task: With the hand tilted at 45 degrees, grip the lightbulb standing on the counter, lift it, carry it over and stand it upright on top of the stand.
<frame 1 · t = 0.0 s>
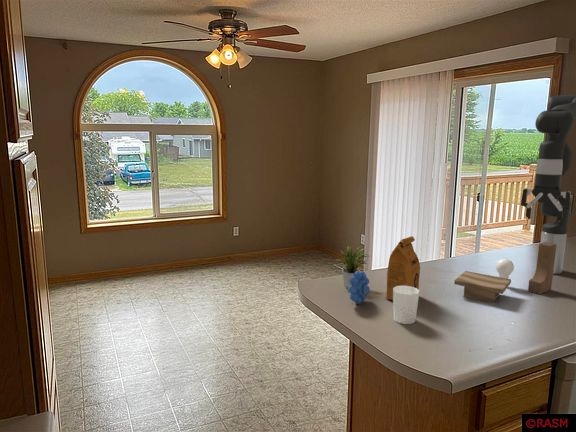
hand: (543, 220, 147), 29 cm above the worktop, tool pointing down, fingers open, 8 cm apart
grapes: (360, 304, 149), on the worktop
stand: (481, 295, 158), on the worktop
coffee package: (402, 298, 155), on the worktop
white cup: (404, 320, 136), on the worktop
lightbulb: (502, 286, 168), on the worktop
wooden block: (539, 291, 163), on the worktop
house plant: (350, 287, 166), on the worktop
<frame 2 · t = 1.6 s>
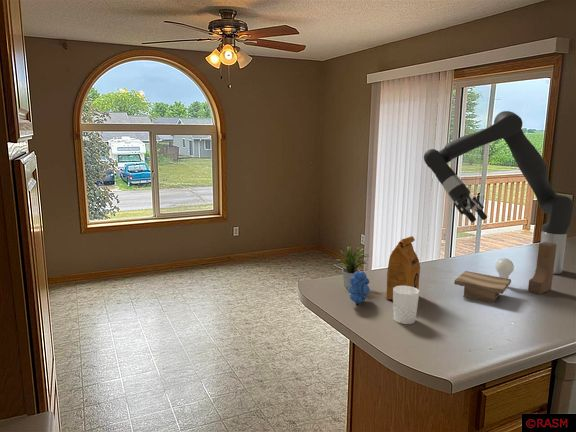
hand: (479, 220, 173), 24 cm above the worktop, tool tilted 45°, fingers open, 8 cm apart
nothing on the worktop moved.
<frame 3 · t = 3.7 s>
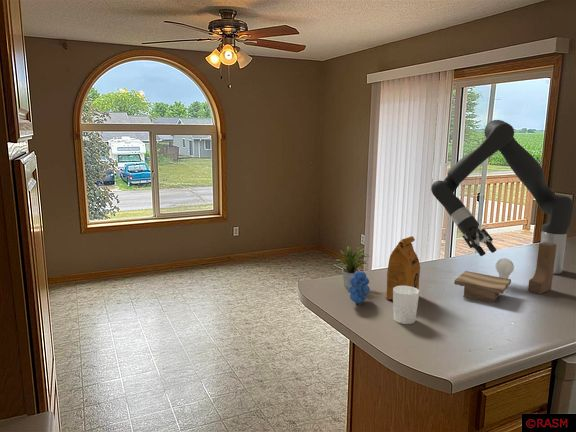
hand: (489, 253, 171), 12 cm above the worktop, tool tilted 45°, fingers open, 8 cm apart
nothing on the worktop moved.
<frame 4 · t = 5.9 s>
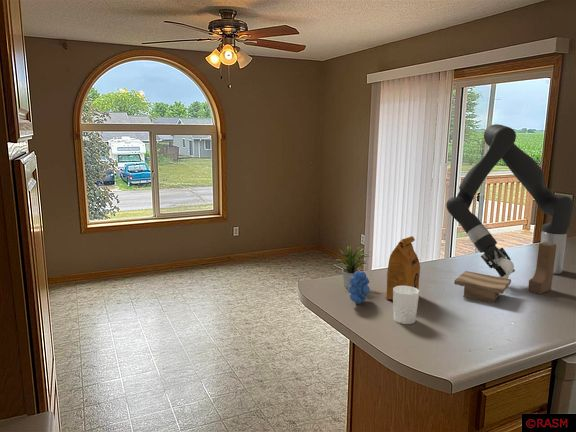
hand: (508, 273, 166), 5 cm above the worktop, tool tilted 45°, fingers closed on lightbulb, 6 cm apart
lightbulb: (502, 286, 168), on the worktop, touching gripper
everything else where it was.
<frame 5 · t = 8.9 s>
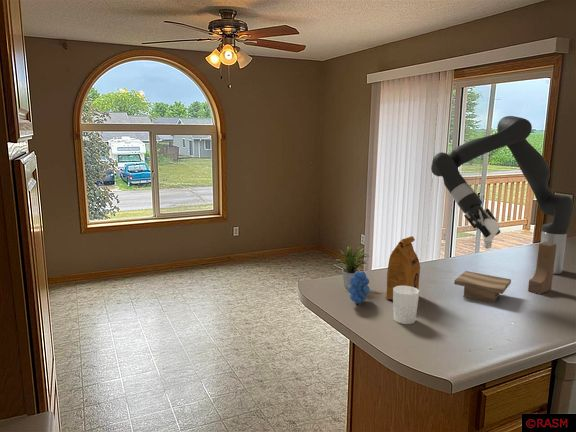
hand: (493, 234, 154), 23 cm above the worktop, tool tilted 45°, fingers closed on lightbulb, 6 cm apart
lightbulb: (487, 248, 156), point 17 cm above the worktop, touching gripper
everything else where it was.
when the fingers open (12 cm above the worktop, at t = 12.1 s): lightbulb stays where it is, resting on stand.
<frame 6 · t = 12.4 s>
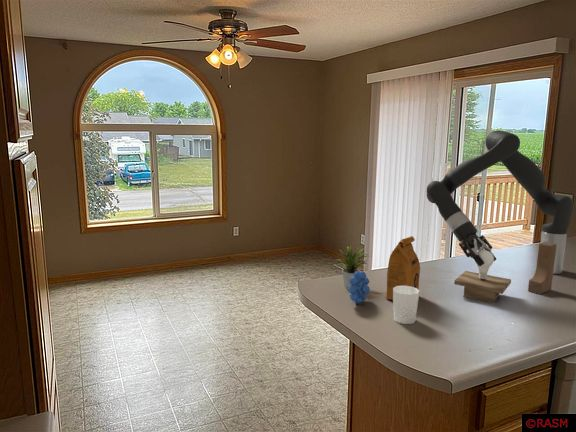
hand: (488, 263, 155), 13 cm above the worktop, tool tilted 45°, fingers open, 8 cm apart
lightbulb: (482, 280, 157), point 6 cm above the worktop, touching stand
everything else where it was.
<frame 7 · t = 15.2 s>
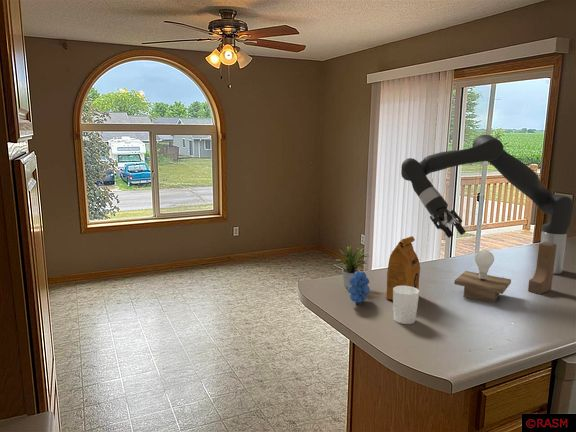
hand: (457, 234, 163), 21 cm above the worktop, tool tilted 45°, fingers open, 8 cm apart
nothing on the worktop moved.
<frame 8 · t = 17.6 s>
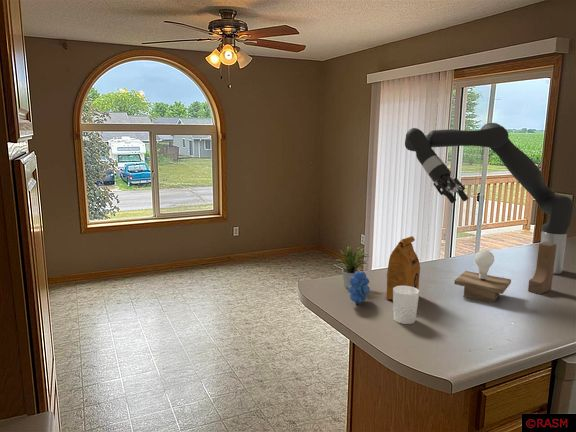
hand: (460, 200, 167), 33 cm above the worktop, tool tilted 45°, fingers open, 8 cm apart
nothing on the worktop moved.
at the end: lightbulb inside the target area on the stand (0.2 cm from its centre), point 5.8 cm above the stand's base; lightbulb tilted 0°; the gripper is holding nothing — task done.
